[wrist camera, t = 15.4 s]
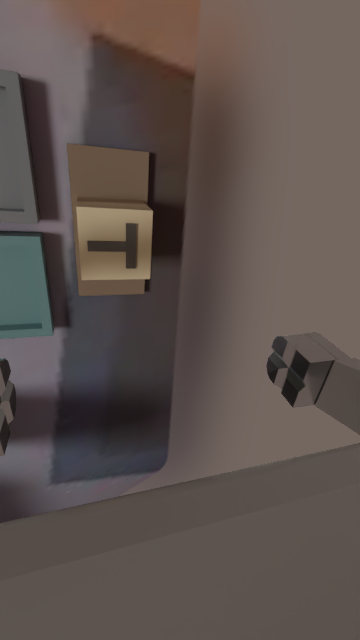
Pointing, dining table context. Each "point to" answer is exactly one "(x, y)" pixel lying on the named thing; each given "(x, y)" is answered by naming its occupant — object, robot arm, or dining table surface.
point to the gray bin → (15, 155)
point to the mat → (106, 182)
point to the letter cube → (114, 238)
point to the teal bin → (24, 286)
